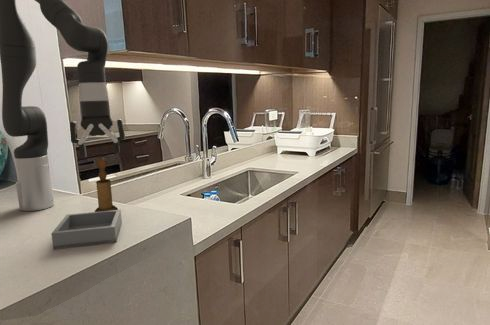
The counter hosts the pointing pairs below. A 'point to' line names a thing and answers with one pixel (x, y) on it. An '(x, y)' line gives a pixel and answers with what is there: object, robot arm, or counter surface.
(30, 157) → the robot arm
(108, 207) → the turned wooden knob
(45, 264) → the counter surface
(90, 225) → the tray
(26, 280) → the counter surface
